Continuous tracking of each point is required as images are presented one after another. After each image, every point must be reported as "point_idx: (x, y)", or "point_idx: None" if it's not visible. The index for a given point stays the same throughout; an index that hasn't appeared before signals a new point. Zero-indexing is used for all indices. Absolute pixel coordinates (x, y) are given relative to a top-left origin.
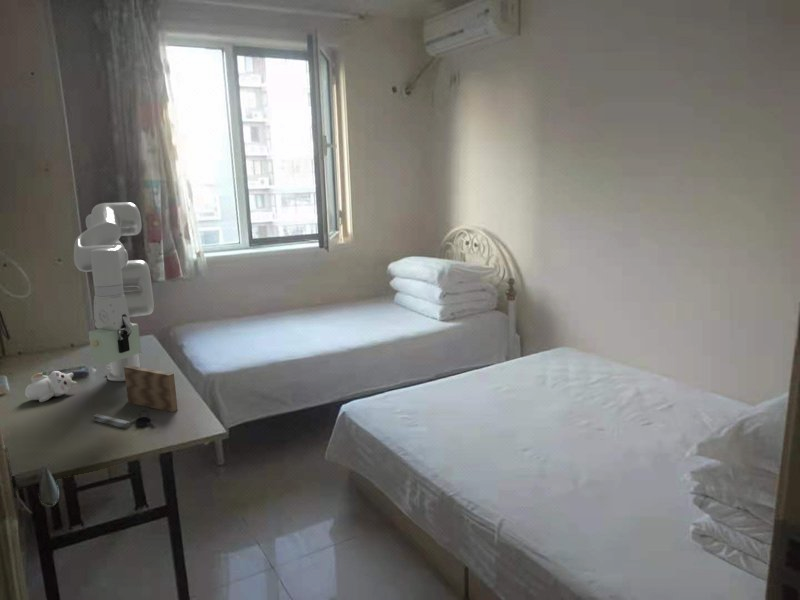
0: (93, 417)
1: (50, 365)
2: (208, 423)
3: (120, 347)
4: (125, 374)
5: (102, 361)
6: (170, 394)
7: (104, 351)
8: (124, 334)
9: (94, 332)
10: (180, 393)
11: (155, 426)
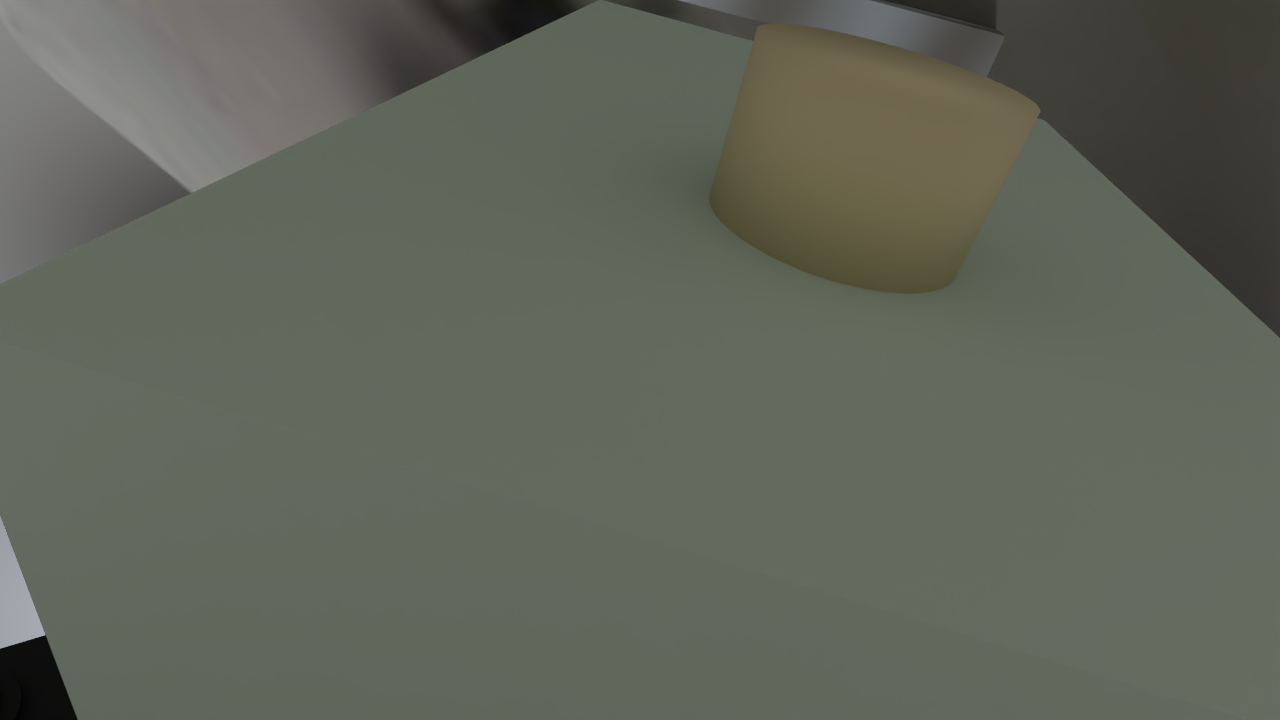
0: (1002, 34)
1: None
2: (155, 130)
3: None
4: None
5: (704, 35)
6: None
7: (508, 45)
8: (17, 681)
9: (1001, 661)
10: None
11: (426, 18)
